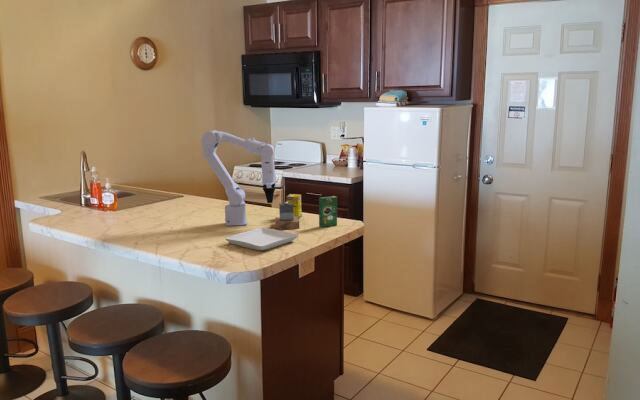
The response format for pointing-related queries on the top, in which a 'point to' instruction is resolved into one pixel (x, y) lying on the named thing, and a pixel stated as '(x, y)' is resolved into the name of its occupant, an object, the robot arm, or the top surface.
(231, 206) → the robot arm
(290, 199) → the supplement box
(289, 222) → the stand
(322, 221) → the coffee box
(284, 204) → the block
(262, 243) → the salad plate
